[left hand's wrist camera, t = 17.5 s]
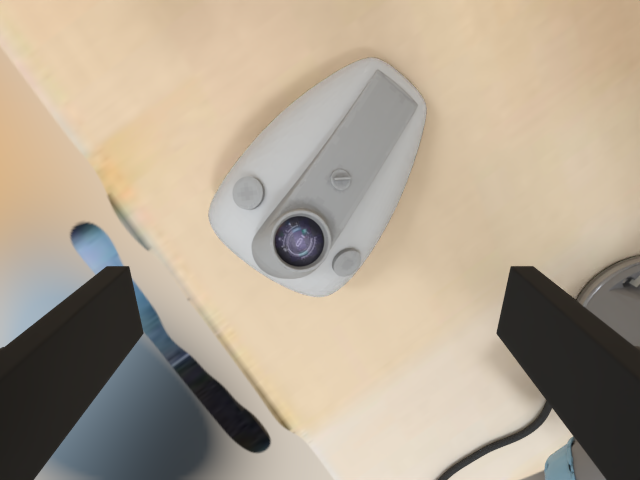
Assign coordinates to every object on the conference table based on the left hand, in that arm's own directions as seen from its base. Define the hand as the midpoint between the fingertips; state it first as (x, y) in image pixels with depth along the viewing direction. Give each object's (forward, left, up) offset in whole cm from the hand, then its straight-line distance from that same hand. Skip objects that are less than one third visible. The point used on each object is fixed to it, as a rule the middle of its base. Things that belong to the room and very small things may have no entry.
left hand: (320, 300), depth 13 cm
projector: (0, -1, -29) cm, 29 cm away
